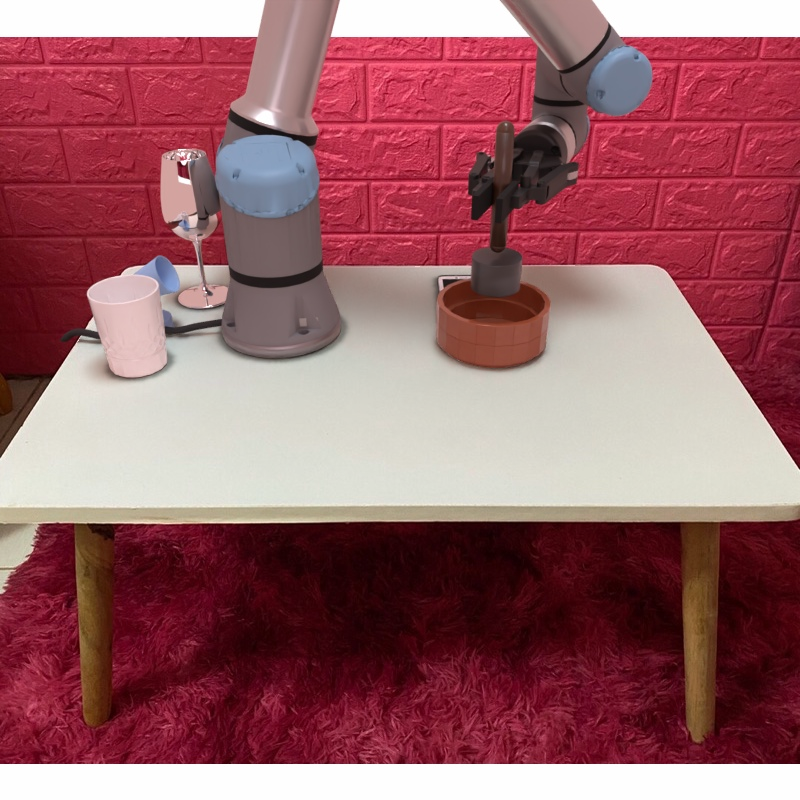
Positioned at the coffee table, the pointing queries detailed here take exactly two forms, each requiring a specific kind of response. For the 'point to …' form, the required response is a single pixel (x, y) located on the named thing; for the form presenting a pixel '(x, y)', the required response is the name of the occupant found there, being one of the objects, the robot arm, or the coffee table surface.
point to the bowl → (492, 325)
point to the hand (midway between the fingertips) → (486, 209)
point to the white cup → (130, 324)
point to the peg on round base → (498, 231)
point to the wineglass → (192, 214)
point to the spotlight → (162, 280)
